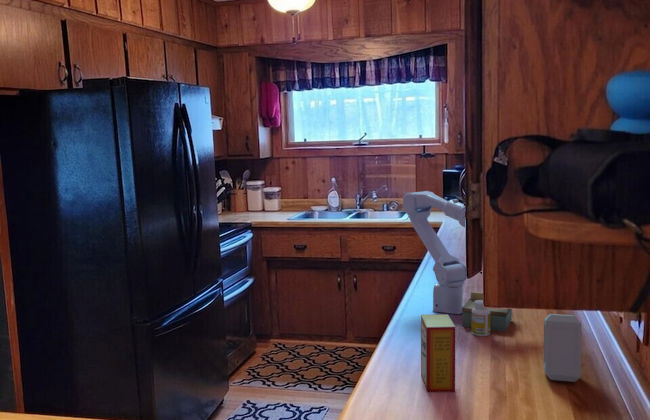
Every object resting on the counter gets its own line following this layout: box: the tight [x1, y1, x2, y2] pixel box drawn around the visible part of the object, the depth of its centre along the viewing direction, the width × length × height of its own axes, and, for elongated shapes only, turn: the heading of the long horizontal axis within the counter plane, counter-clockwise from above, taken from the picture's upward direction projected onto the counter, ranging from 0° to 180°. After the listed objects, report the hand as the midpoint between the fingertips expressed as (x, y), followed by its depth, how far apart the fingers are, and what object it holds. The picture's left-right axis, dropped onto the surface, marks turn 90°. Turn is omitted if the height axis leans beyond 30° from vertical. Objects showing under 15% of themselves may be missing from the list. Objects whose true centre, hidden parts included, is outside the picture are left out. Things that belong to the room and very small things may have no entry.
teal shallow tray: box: [461, 308, 513, 332], centre depth 183 cm, size 13×11×4 cm
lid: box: [462, 290, 510, 316], centre depth 183 cm, size 13×11×4 cm
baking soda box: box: [420, 313, 456, 393], centre depth 140 cm, size 10×6×16 cm
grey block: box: [542, 313, 582, 383], centre depth 152 cm, size 15×8×30 cm
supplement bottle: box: [471, 300, 491, 337], centre depth 174 cm, size 5×5×10 cm
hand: (505, 279), depth 176 cm, fingers open, 7 cm apart
